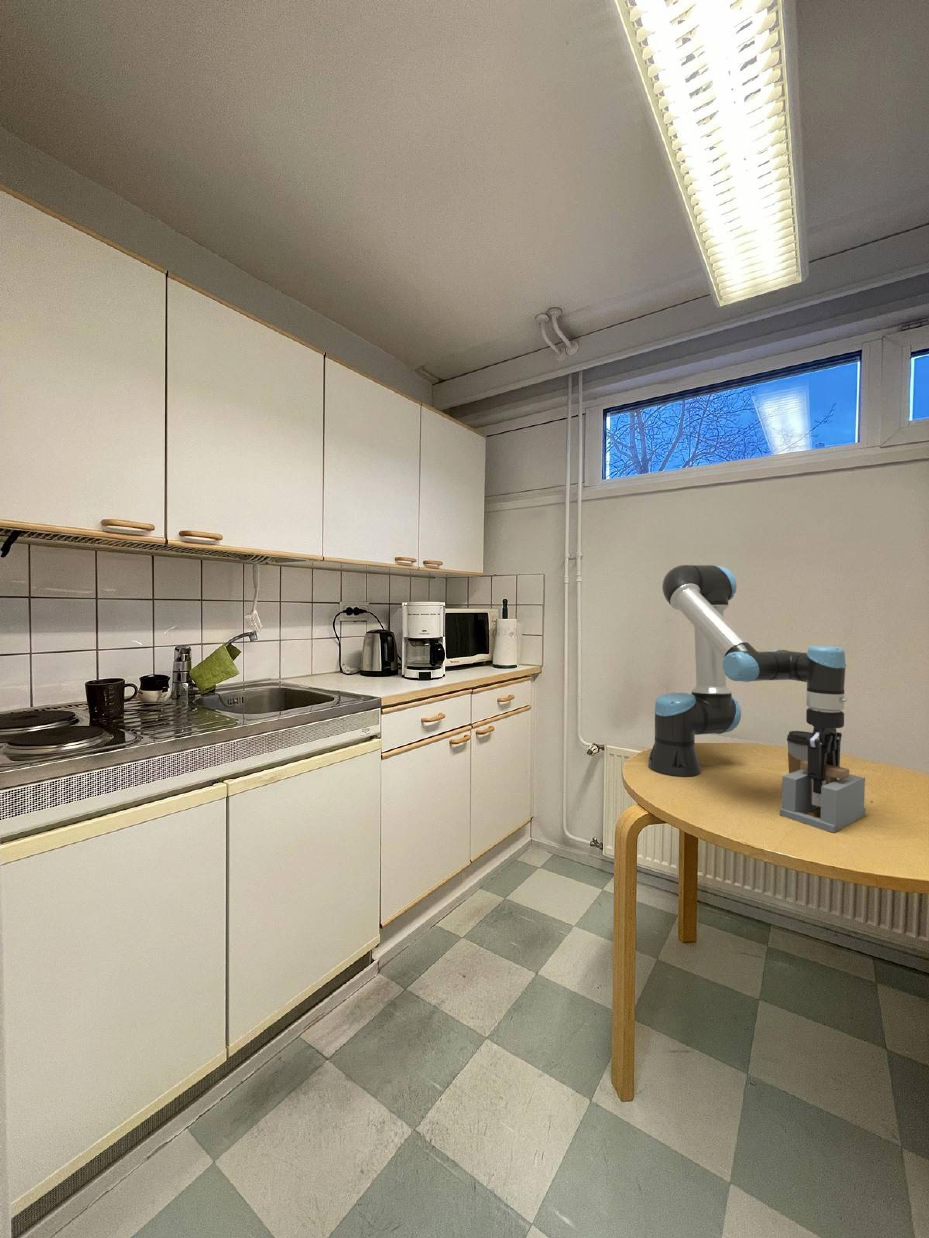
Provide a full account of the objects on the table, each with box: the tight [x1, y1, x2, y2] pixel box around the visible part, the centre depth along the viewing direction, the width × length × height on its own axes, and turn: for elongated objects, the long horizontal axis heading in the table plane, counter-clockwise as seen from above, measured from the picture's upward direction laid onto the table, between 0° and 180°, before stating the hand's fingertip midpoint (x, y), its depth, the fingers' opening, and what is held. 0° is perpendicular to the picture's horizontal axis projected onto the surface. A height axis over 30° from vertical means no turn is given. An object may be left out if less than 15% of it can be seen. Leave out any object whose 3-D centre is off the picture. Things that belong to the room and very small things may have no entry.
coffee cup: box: [786, 730, 813, 774], centre depth 142 cm, size 8×8×15 cm
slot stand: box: [779, 769, 867, 834], centre depth 122 cm, size 11×18×10 cm, turn 123°
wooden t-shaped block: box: [800, 760, 850, 805], centre depth 122 cm, size 9×4×10 cm, turn 32°
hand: (823, 803), depth 122 cm, fingers closed on wooden t-shaped block, 4 cm apart
